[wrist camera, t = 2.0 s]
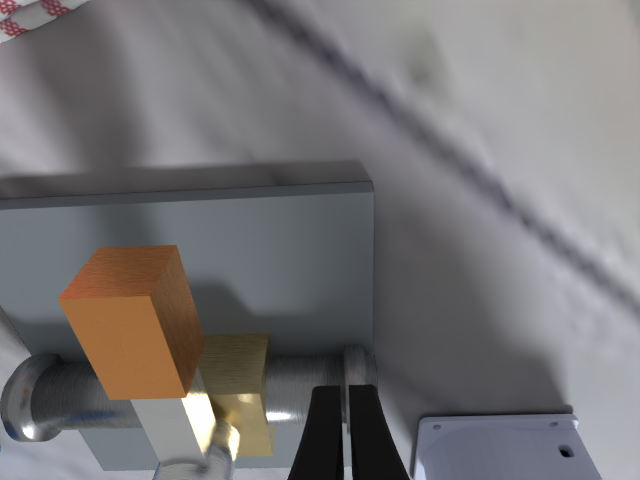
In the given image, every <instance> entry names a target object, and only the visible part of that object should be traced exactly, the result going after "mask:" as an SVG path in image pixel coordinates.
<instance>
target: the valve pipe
mask: <svg viewBox="0 0 640 480" xmlns="http://www.w3.org/2000/svg"><path fill="white" fill-rule="evenodd" d="M203 336H204V339H205V343H204V346H203V349H202V352H201V356H200V359H199V362H198V368H199V371H200V374H201V378H202V381H203V384H204V387H205V390H206V393H207V396H208V399H209V402H210V406H211V409H212V412H213V415H214V417H216V418H219V419H222V420H224V421H226V422H228V423H229V424H231V425H232V426H233V427H234V428H235V429H236V430H237V432H238V433H239V436H240V442H239V447H238V453H237V457H250V456H273V450H274V441H275V432H276V425H304V424H306V420H307V416H308V411H309V406H310V402H311V395H312V389H313V388H314V387H316V386H331V385H340V393H341V412H342V424H347V435H350V412H349V385H369V384H373V385H374V386H375V387H377V391H378V384H377V372H376V363H375V357H374V354H371V355H365V352H364V345H343V348H344V355H338V356H305V357H273V353H272V347H271V341H270V336H269V333H252V334H221V335H203ZM0 414H1V418H2V421H3V424H4V427H5V430H6V432H7V433H8V435H9V436H10V437H11V438H12V439H14V440H16V441H19V442H42V441H48V440H50V439H53V438H54V437H55V436H57V435H58V434H59V433H60V432H61V431H62V430H84V429H128V428H143V426H142V424H141V422H140V420H139V418H138V415H137V413H136V411H135V409H134V407H133V405H132V403H131V401H130V400H109V398H108V396H107V394H106V392H105V390H104V388H103V386H102V384H101V382H100V381H99V379H98V377H97V375H96V373H95V371H94V369H93V367H92V365H91V363H72V364H64V362H63V360H62V359H61V357H60V355H59V354H43V355H34V356H31V357H29V358H27V359H26V360H25V361H23V362H22V363H21V364H20V365H19V366H18V367H17V368H16V370H15V371H14V373H13V374H12V375H11V376H10V378H9V379H8V381H7V383H6V385H5V387H4V389H3V392H2V396H1V401H0Z"/></svg>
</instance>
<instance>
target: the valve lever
mask: <svg viewBox="0 0 640 480" xmlns="http://www.w3.org/2000/svg"><path fill="white" fill-rule="evenodd" d="M57 300H58V302H59V304H60V306H61V308H62V310H63V312H64V314H65V316H66V317H67V319H68V321H69V323H70V325H71V327H72V329H73V331H74V333H75V335H76V337H77V338H78V340H79V342H80V344H81V346H82V348H83V350H84V352H85V354H86V356H87V358H88V360H89V361H90V363H91V365H92V367H93V369H94V371H95V373H96V375H97V377H98V379H99V381H100V382H101V384H102V386H103V388H104V390H105V392H106V394H107V396H108V398H109V400H130V401H131V403H132V405H133V407H134V409H135V411H136V413H137V415H138V418H139V420H140V422H141V424H142V426H143V428H144V430H145V432H146V434H147V436H148V438H149V440H150V442H151V445H152V447H153V449H154V451H155V453H156V455H157V457H158V459H159V462H158V465H157V468H156V471H155V474H154V477H153V480H233V475H234V469H235V464H236V458H237V453H238V447H239V442H240V436H239V433H238V432H237V430H236V429H235V428H234V427H233V426H232V425H231V424H229V423H228V422H226V421H224V420H222V419H219V418H216V417H214V415H213V412H212V409H211V406H210V402H209V399H208V396H207V393H206V390H205V387H204V384H203V381H202V378H201V374H200V371H199V368H198V362H199V359H200V356H201V352H202V349H203V346H204V343H205V339H204V336H203V333H202V329H201V326H200V322H199V319H198V316H197V312H196V309H195V305H194V302H193V299H192V295H191V292H190V288H189V285H188V282H187V278H186V275H185V271H184V268H183V265H182V261H181V258H180V254H179V251H178V248H177V245H159V246H136V247H113V248H98V249H97V250H96V251H95V252H94V254H93V255H92V256H91V257H90V259H89V260H88V261H87V262H86V264H85V265H84V266H83V267H82V269H81V270H80V271H79V272H78V274H77V275H76V276H75V277H74V279H73V280H72V281H71V282H70V284H69V285H68V286H67V287H66V289H65V290H64V291H63V292H62V294H61V295H60V296H59V297H58V299H57Z"/></svg>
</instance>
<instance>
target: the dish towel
mask: <svg viewBox="0 0 640 480" xmlns="http://www.w3.org/2000/svg"><path fill="white" fill-rule="evenodd" d="M88 1H90V0H0V43H2V42H5V41H8V40H11V39H13V38H15V37H17V36H19V35H20V34H21V33H23V32H25V31H28V30H33V29H35V28H37V27H39V26H42V25H44V24H46V23H48V22H50V21H52V20H54V19H56V18H58V17H60V16H61V15H63V14H64V13H66V12H68V11H71V10H74V9H76V8H77V7H79V6H80V5H82V4H84V3H86V2H88Z"/></svg>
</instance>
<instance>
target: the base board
mask: <svg viewBox="0 0 640 480" xmlns="http://www.w3.org/2000/svg"><path fill="white" fill-rule="evenodd" d="M159 245H177V248H178V251H179V254H180V258H181V261H182V265H183V268H184V271H185V275H186V278H187V282H188V285H189V288H190V292H191V295H192V299H193V302H194V305H195V309H196V312H197V316H198V319H199V322H200V326H201V329H202V333H203V335H221V334H252V333H269V336H270V341H271V347H272V353H273V357H305V356H338V355H344V348H343V345H364V352H365V355H371V354H373V279H374V188H373V183H372V181H370V182H349V183H329V184H308V185H287V186H267V187H246V188H226V189H205V190H185V191H164V192H144V193H123V194H102V195H82V196H61V197H41V198H20V199H0V306H1V307H2V309H3V310H4V312H5V314H6V315H7V317H8V318H9V320H10V322H11V323H12V325H13V326H14V328H15V330H16V331H17V333H18V334H19V336H20V338H21V339H22V341H23V342H24V344H25V346H26V347H27V349H28V350H29V352H30V354H31V355H32V356H34V355H43V354H59V355H60V357H61V359H62V360H63V362H64V364H72V363H90V361H89V360H88V358H87V356H86V354H85V352H84V350H83V348H82V346H81V344H80V342H79V340H78V338H77V337H76V335H75V333H74V331H73V329H72V327H71V325H70V323H69V321H68V319H67V317H66V316H65V314H64V312H63V310H62V308H61V306H60V304H59V302H58V300H57V299H58V297H59V296H60V295H61V294H62V292H63V291H64V290H65V289H66V287H67V286H68V285H69V284H70V282H71V281H72V280H73V279H74V277H75V276H76V275H77V274H78V272H79V271H80V270H81V269H82V267H83V266H84V265H85V264H86V262H87V261H88V260H89V259H90V257H91V256H92V255H93V254H94V252H95V251H96V250H97V249H98V248H113V247H136V246H159ZM304 427H305V424H304V425H276V432H275V441H274V450H273V456H250V457H237V458H236V464H235V468H290V467H292V465H293V462H294V459H295V456H296V453H297V450H298V447H299V444H300V441H301V438H302V434H303V431H304ZM342 430H343V457H344V467H345V466H352V459H351V437H350V435H347V424H342ZM79 432H80V434H81V435H82V437H83V438H84V440H85V442H86V443H87V445H88V446H89V448H90V450H91V451H92V453H93V454H94V456H95V458H96V459H97V461H98V462H99V464H100V466H101V467H102V469H103V470H104V471H124V470H156V468H157V465H158V462H159V459H158V457H157V455H156V453H155V451H154V449H153V447H152V445H151V442H150V440H149V438H148V436H147V434H146V432H145V430H144V428H128V429H84V430H79Z"/></svg>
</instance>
